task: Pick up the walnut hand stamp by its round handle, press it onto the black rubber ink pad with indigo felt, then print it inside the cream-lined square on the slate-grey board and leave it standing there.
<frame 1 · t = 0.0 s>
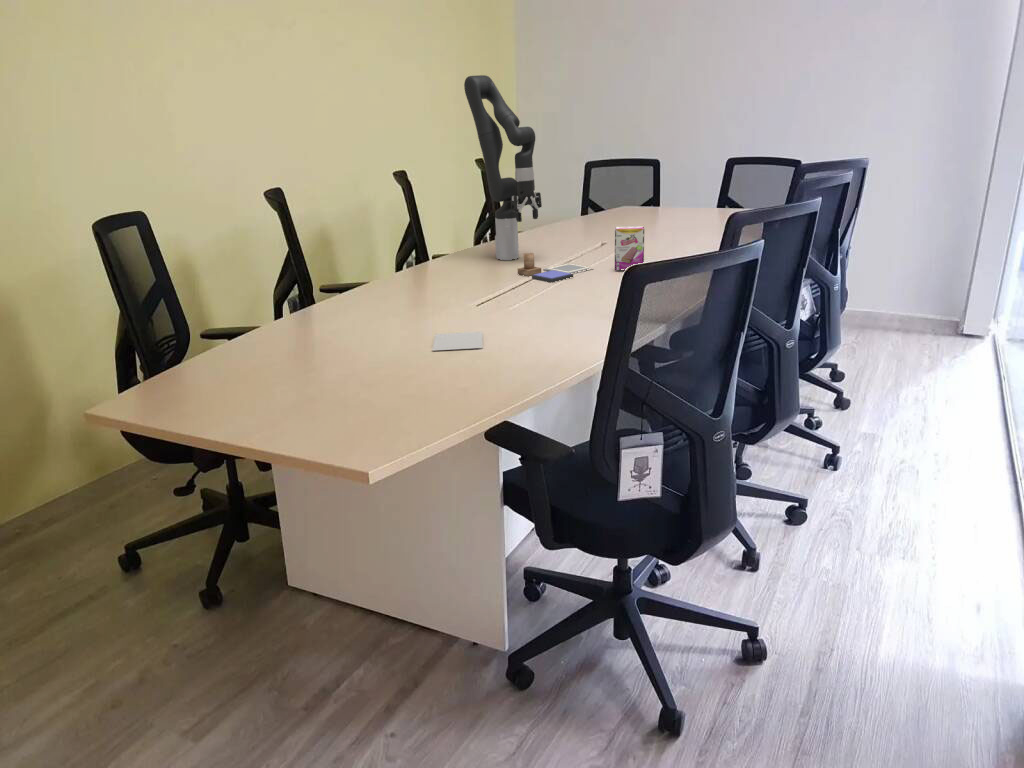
hand: (527, 220, 337), 17 cm above the table, tool pointing down, fingers open, 8 cm apart
ink pad: (552, 278, 313), on the table
stamp: (529, 274, 321), on the table
paper stack: (474, 346, 235), on the table
candy bar box: (629, 270, 320), on the table
frame board: (568, 269, 325), on the table
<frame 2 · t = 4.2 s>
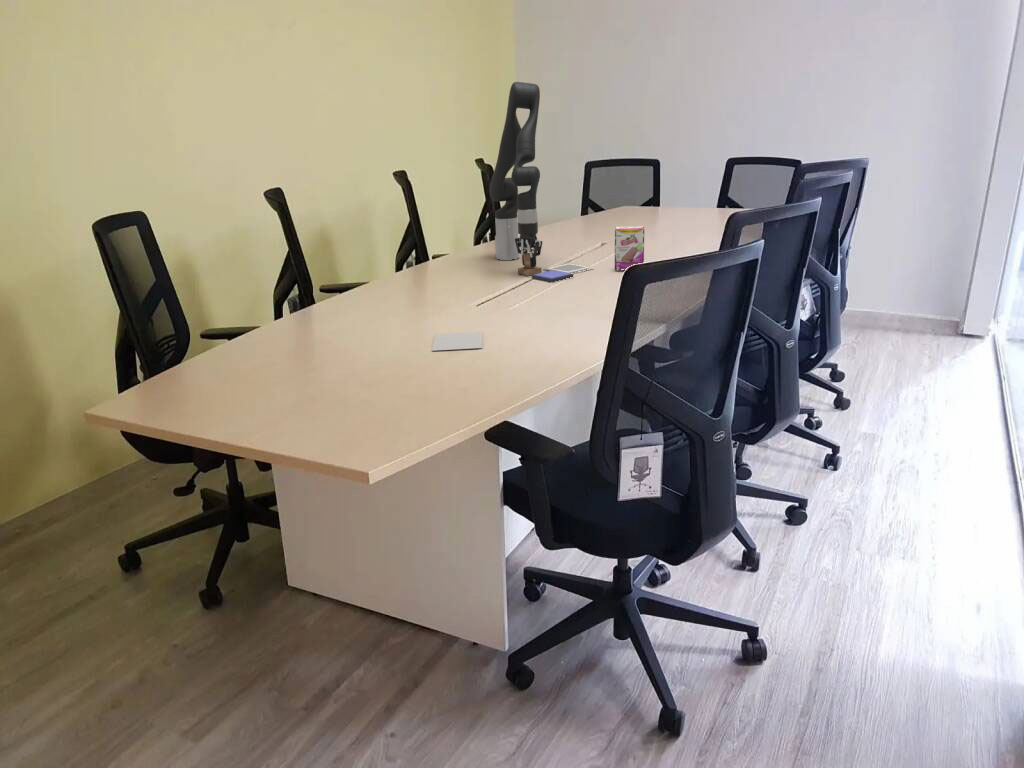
hand: (529, 265, 320), 3 cm above the table, tool pointing down, fingers closed on stamp, 4 cm apart
stamp: (529, 274, 321), on the table, touching gripper
everything else where it was.
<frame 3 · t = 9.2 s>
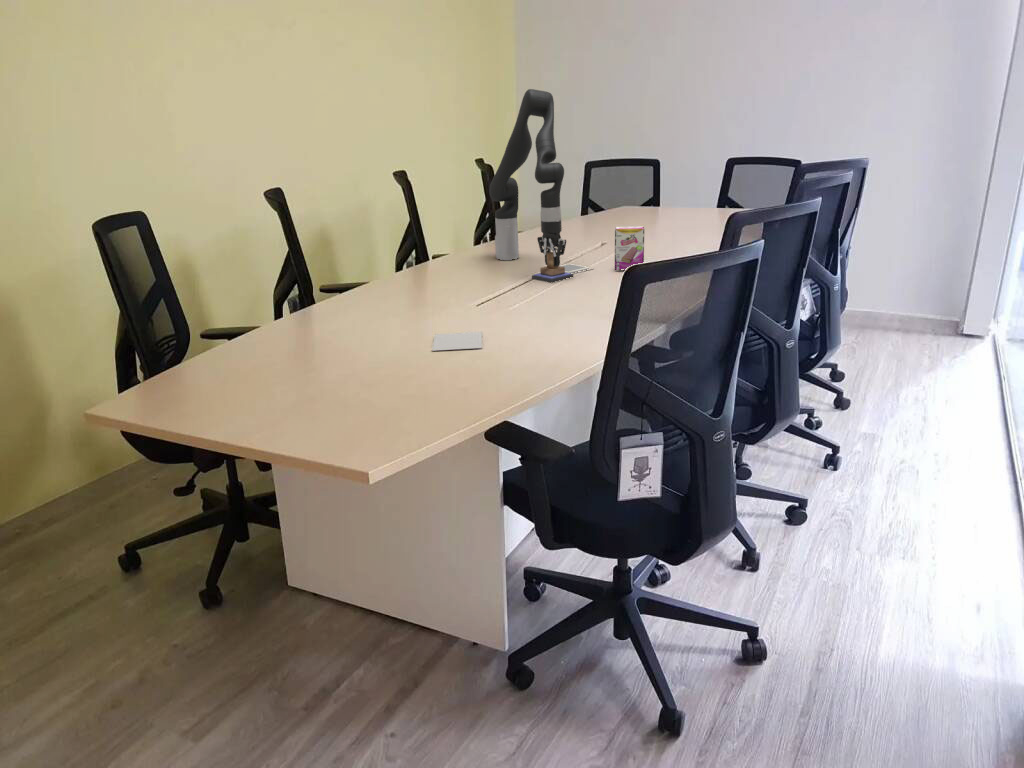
hand: (552, 265, 311), 5 cm above the table, tool pointing down, fingers closed on stamp, 4 cm apart
stamp: (552, 274, 312), point 1 cm above the table, touching gripper, ink pad
everything else where it was.
when the fingers open (4 cm above the table, at t = 14.2 s): stamp stays where it is, resting on frame board.
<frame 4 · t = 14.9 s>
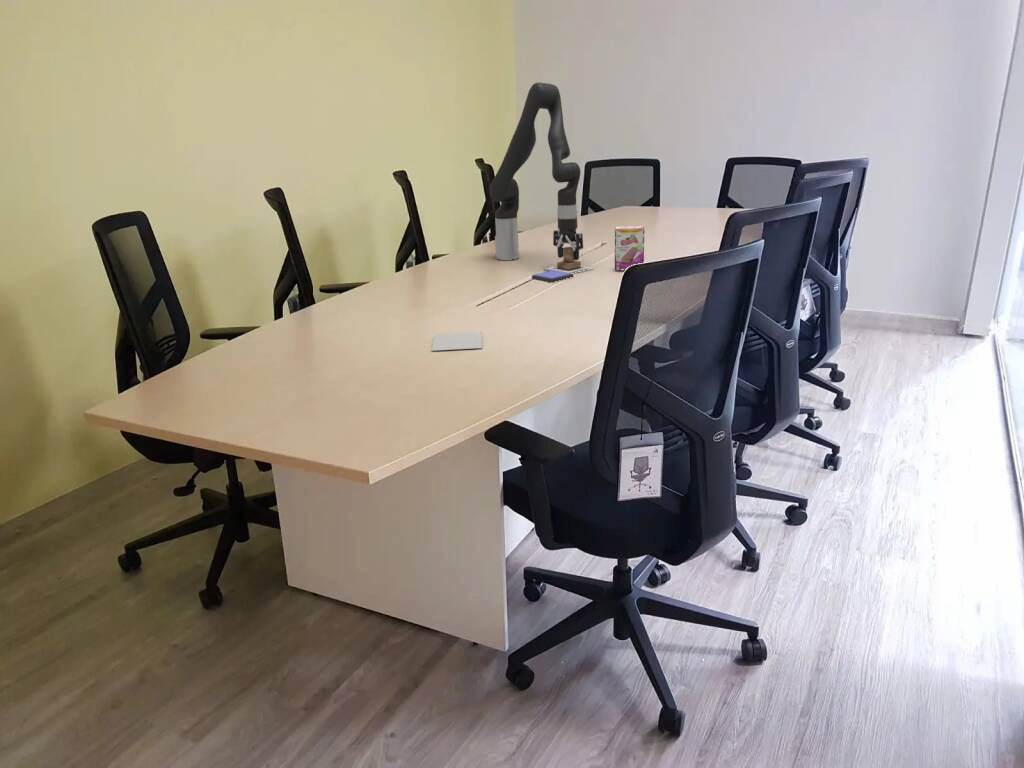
hand: (568, 258, 324), 4 cm above the table, tool pointing down, fingers open, 8 cm apart
stamp: (568, 268, 325), point 1 cm above the table, touching frame board
everything else where it was.
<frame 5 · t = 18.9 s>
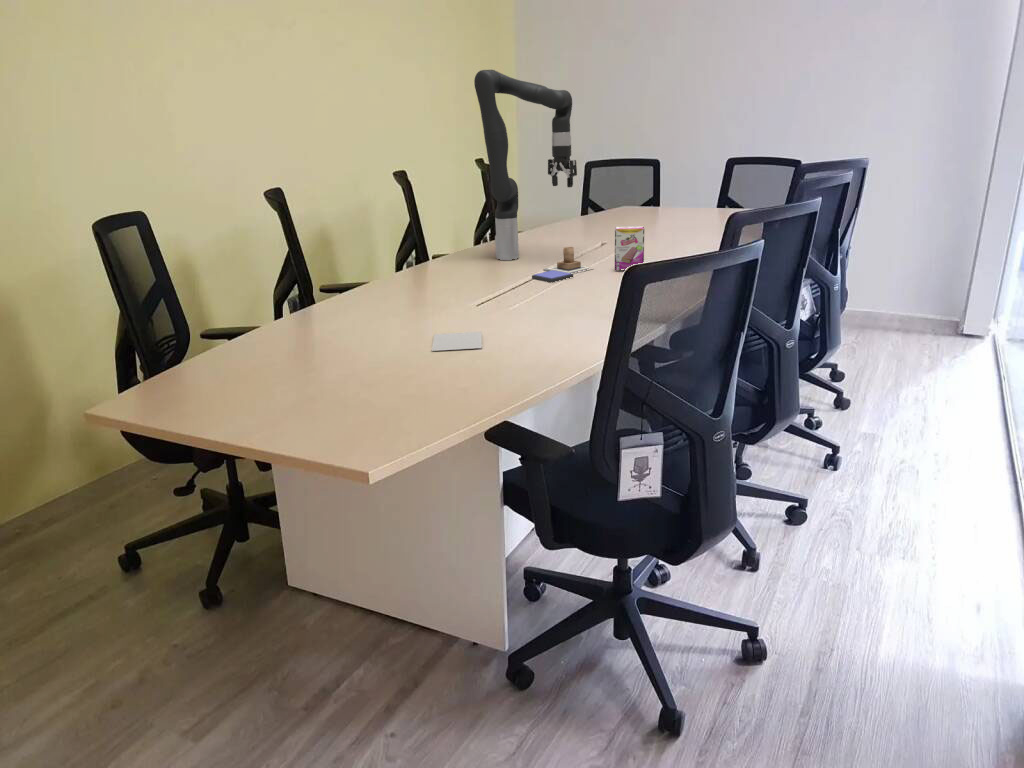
hand: (562, 186, 331), 30 cm above the table, tool pointing down, fingers open, 8 cm apart
nothing on the table moved.
at the end: stamp 0.1 cm off-centre on the frame board, point 0.6 cm above the frame board's base; stamp tilted 0°; the gripper is holding nothing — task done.
